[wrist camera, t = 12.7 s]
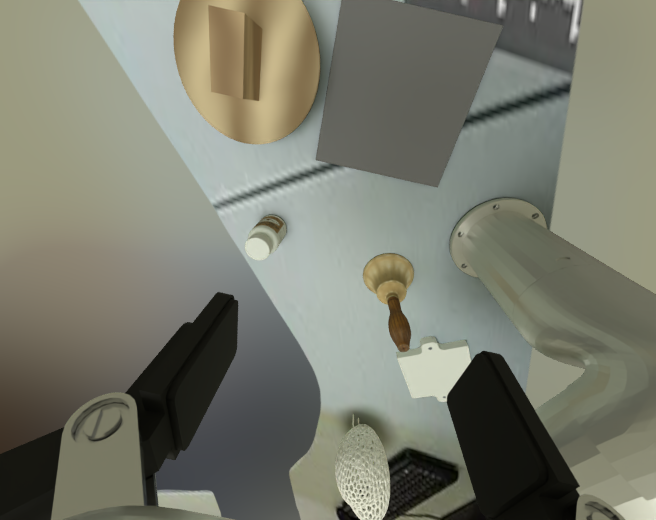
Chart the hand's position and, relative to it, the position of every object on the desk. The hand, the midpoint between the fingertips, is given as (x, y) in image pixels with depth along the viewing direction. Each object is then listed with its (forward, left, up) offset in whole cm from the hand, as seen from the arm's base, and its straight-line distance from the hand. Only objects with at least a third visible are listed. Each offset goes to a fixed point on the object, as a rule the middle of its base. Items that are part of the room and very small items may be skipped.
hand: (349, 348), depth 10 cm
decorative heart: (-16, +58, -31) cm, 68 cm away
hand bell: (-9, +14, -31) cm, 35 cm away
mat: (-2, -10, -30) cm, 32 cm away
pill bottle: (+11, +10, -31) cm, 34 cm away
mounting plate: (-25, +33, -31) cm, 52 cm away
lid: (+14, -10, -25) cm, 31 cm away
